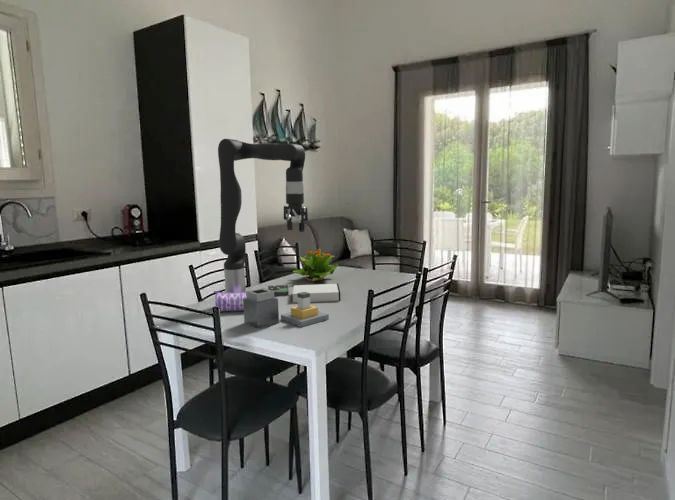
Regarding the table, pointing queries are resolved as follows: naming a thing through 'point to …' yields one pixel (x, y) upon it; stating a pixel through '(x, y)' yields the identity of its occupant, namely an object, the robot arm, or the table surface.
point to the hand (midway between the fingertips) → (295, 230)
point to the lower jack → (304, 316)
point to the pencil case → (230, 301)
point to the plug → (303, 300)
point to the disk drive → (279, 290)
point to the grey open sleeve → (260, 308)
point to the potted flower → (316, 266)
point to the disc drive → (318, 292)
